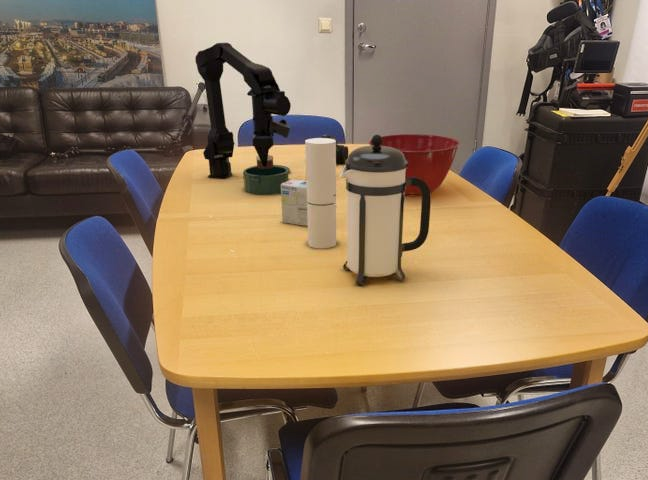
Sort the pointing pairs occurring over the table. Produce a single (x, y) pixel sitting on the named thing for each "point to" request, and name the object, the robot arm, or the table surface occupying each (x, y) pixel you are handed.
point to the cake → (269, 163)
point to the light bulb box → (294, 202)
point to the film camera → (339, 151)
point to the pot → (265, 180)
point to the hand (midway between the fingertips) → (265, 164)
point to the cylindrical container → (321, 192)
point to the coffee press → (379, 210)
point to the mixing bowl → (424, 157)
